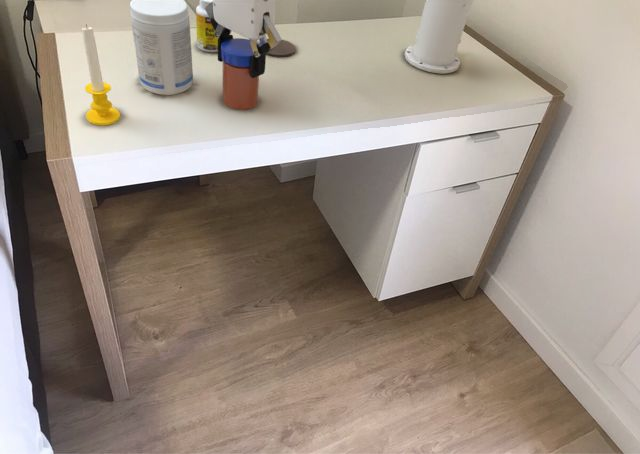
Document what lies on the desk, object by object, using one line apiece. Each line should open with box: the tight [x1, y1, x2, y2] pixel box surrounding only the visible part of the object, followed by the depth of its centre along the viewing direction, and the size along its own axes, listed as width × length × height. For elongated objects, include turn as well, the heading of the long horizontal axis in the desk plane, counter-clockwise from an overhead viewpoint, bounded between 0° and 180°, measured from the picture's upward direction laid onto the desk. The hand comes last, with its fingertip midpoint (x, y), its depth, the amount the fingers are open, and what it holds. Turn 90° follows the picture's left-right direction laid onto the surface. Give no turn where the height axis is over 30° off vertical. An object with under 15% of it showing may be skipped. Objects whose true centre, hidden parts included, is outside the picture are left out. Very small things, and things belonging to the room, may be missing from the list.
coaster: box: [258, 38, 296, 58], centre depth 112 cm, size 8×8×1 cm
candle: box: [81, 24, 121, 126], centre depth 80 cm, size 5×5×16 cm
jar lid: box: [221, 37, 260, 67], centre depth 88 cm, size 7×7×2 cm
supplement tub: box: [129, 0, 194, 96], centre depth 90 cm, size 10×10×15 cm
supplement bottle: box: [195, 0, 218, 53], centre depth 105 cm, size 6×6×10 cm
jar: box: [222, 61, 260, 111], centre depth 91 cm, size 6×6×10 cm
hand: (241, 66), depth 90 cm, fingers closed on jar lid, 6 cm apart
